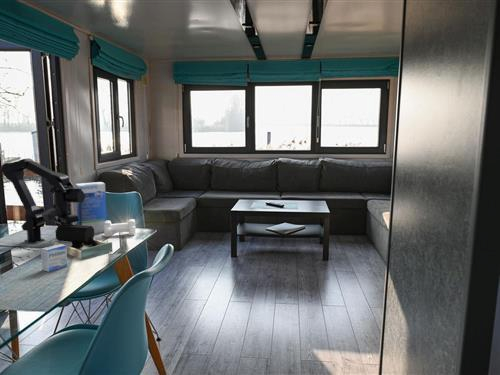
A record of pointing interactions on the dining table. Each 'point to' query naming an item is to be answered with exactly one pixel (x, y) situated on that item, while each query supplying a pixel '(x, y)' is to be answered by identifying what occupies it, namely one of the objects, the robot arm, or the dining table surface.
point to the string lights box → (92, 206)
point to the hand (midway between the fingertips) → (63, 234)
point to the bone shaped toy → (119, 227)
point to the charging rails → (89, 250)
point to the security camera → (76, 235)
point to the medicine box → (54, 257)
